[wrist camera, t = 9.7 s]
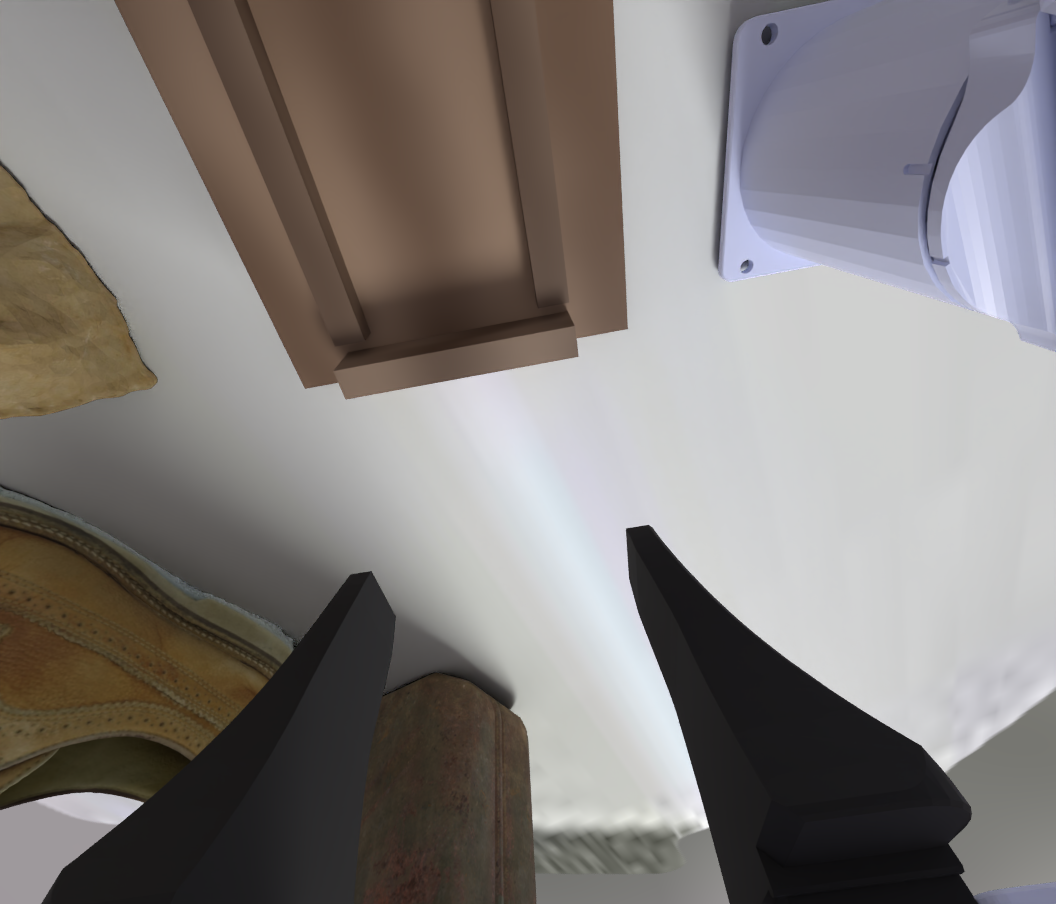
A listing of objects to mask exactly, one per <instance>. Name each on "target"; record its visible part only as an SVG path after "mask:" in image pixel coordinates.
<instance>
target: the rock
mask: <svg viewBox="0 0 1056 904" xmlns="http://www.w3.org/2000/svg"><path fill="white" fill-rule="evenodd" d="M128 333H129V330H128V327H127V324H126V322H125V320H124V318H123V316H122V314H121V313H120V311H119V309H118V307H117V300H116V299H115V297H114V296H113V295H112V294H111V293H110V292H109V291H108V290H107V289H106V288H105V287H104V285H103V284H102V283H101V282H100V280H99V279H98V277H97V276H96V275H95V273H94V272H93V271H92V269H91V268H90V267H89V265H88V264H87V262H86V260H85V258H84V257H83V256H82V255H81V253H80V252H79V251H78V250H76V249H75V248H74V247H73V246H72V245H71V244H70V243H69V242H68V240H67V239H66V238H65V236H64V235H63V233H62V232H61V231H60V230H59V229H58V228H57V227H56V226H55V225H54V224H52V223H51V222H49V221H48V220H47V219H46V218H45V217H44V216H43V215H42V213H41V212H40V211H39V209H38V208H37V207H36V206H35V205H34V204H33V203H32V202H31V201H30V200H29V198H28V196H27V194H26V192H25V190H24V189H23V188H22V187H21V186H20V185H19V184H18V183H17V182H16V181H15V180H14V179H13V177H12V176H11V175H10V174H9V173H8V172H7V171H6V170H5V169H4V168H3V167H2V166H0V419H6V418H10V417H19V416H41V415H46V414H51V413H55V412H59V411H62V410H66V409H70V408H73V407H77V406H80V405H83V404H86V403H89V402H91V401H94V400H97V399H103V398H115V397H121V396H124V395H126V394H127V393H129V392H133V391H138V390H147V389H150V388H152V387H153V386H154V385H155V384H156V383H157V377H156V376H155V375H154V374H153V373H152V372H151V371H149V370H148V369H147V368H146V367H145V366H144V365H143V363H142V361H141V359H140V356H139V354H138V351H137V349H136V347H135V345H134V343H133V341H132V340H131V338H130V336H129V335H128Z"/></svg>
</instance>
